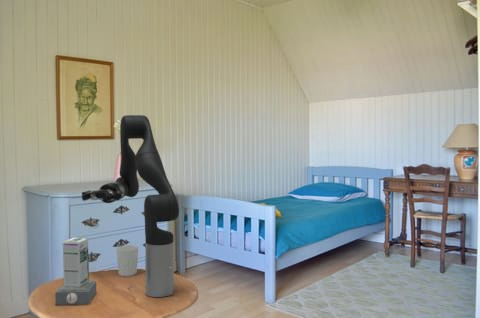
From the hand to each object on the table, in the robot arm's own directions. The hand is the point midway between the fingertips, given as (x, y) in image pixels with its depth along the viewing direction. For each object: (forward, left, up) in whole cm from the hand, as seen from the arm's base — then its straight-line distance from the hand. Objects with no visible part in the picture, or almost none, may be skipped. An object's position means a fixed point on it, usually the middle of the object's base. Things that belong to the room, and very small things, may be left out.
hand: (94, 198), depth 158 cm
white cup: (-10, -7, -30) cm, 33 cm away
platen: (+2, +18, -26) cm, 32 cm away
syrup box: (+2, +18, -25) cm, 31 cm away
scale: (+2, +18, -30) cm, 35 cm away
